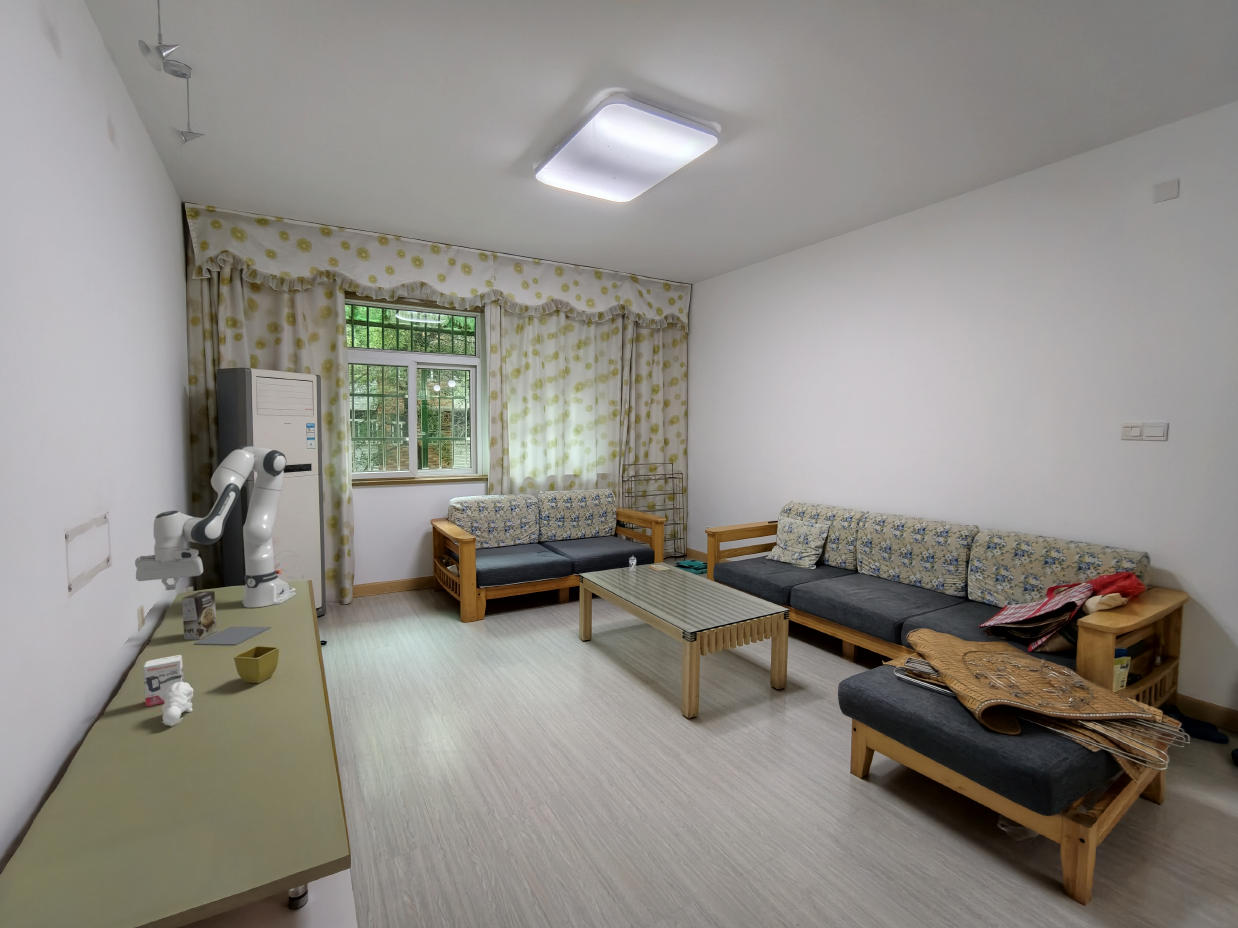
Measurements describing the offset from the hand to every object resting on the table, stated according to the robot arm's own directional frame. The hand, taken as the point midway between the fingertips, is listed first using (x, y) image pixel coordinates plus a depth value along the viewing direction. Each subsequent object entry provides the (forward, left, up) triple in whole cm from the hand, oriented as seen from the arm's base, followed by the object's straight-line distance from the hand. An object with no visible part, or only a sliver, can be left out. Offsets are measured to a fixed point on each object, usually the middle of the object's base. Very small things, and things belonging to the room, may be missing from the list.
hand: (171, 589), depth 217 cm
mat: (0, +25, -18) cm, 30 cm away
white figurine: (+60, +58, -18) cm, 85 cm away
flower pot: (+36, +63, -18) cm, 75 cm away
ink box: (+50, +45, -18) cm, 70 cm away
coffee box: (0, +11, -18) cm, 21 cm away
